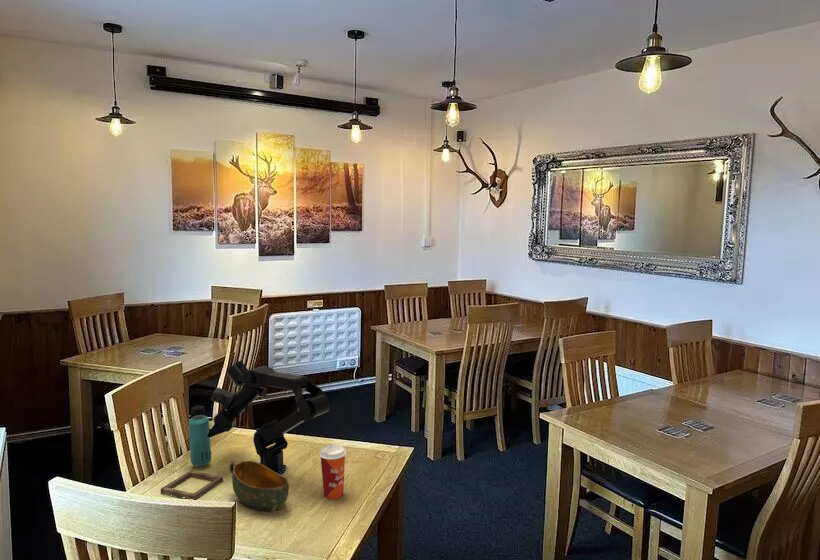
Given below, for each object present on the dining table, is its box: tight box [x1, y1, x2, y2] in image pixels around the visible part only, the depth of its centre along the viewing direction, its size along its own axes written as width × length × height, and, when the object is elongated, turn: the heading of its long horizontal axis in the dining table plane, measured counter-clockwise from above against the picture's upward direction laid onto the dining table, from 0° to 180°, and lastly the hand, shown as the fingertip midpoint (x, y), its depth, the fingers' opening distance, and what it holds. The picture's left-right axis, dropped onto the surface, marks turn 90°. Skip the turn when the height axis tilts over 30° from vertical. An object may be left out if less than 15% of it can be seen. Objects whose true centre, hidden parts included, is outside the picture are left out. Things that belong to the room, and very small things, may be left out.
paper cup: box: [319, 444, 347, 501], centre depth 161 cm, size 8×8×14 cm
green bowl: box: [229, 460, 290, 513], centre depth 157 cm, size 13×20×10 cm, turn 32°
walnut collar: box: [160, 469, 224, 501], centre depth 166 cm, size 12×12×2 cm
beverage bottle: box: [187, 405, 212, 467], centre depth 179 cm, size 6×7×20 cm
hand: (212, 430), depth 180 cm, fingers open, 9 cm apart
